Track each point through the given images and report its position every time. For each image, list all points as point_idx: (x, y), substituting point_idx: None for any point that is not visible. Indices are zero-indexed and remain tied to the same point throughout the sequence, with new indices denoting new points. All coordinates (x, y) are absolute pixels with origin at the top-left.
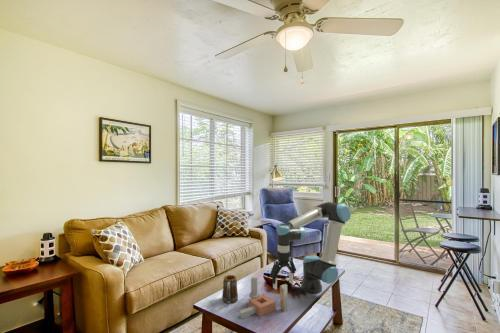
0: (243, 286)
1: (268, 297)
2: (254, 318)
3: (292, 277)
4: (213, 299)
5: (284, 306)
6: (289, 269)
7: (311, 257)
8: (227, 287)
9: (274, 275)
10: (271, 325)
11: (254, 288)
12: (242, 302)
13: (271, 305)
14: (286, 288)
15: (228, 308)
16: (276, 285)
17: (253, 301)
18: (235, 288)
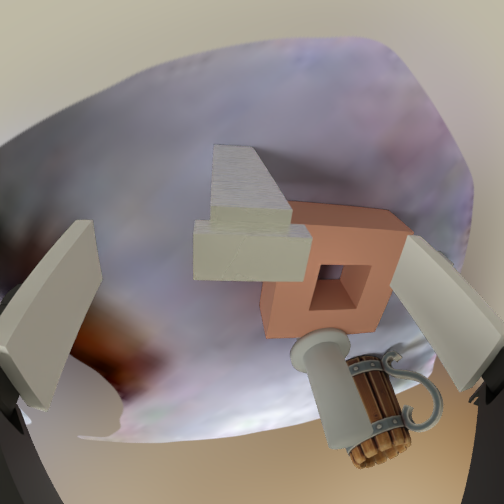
0: (230, 419)
1: (276, 295)
2: (415, 216)
3: (40, 282)
4: None
5: (247, 153)
6: (37, 474)
7: None
8: (442, 403)
9: (486, 403)
10: (412, 111)
11: (350, 378)
12: None
13: (323, 219)
14: (229, 203)
15: (405, 334)
16: (444, 264)
17: (377, 306)
18: (373, 407)
